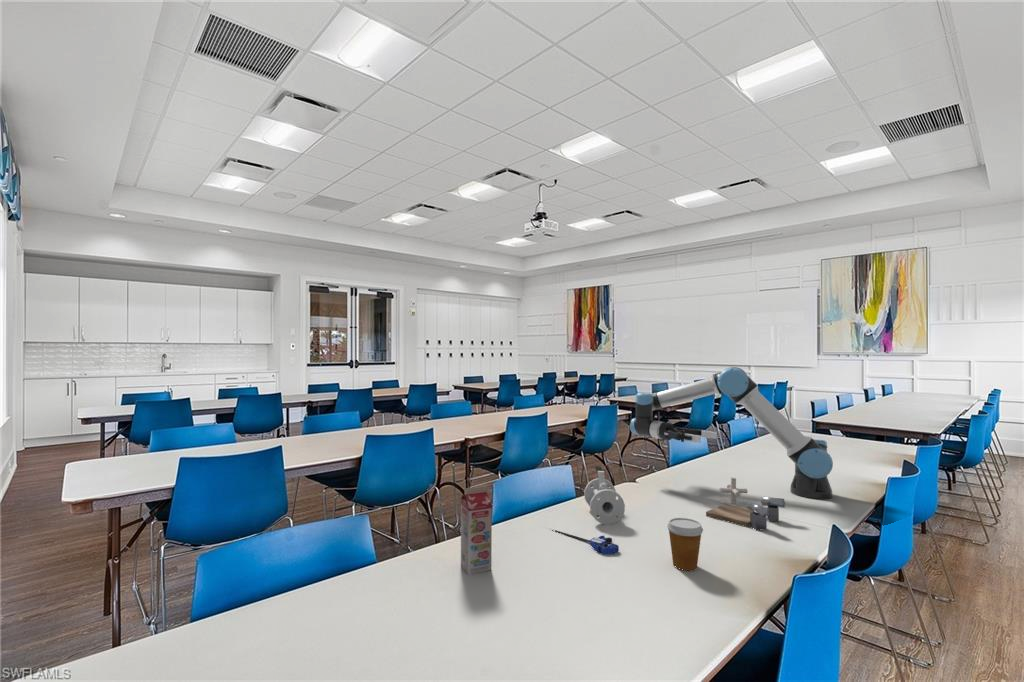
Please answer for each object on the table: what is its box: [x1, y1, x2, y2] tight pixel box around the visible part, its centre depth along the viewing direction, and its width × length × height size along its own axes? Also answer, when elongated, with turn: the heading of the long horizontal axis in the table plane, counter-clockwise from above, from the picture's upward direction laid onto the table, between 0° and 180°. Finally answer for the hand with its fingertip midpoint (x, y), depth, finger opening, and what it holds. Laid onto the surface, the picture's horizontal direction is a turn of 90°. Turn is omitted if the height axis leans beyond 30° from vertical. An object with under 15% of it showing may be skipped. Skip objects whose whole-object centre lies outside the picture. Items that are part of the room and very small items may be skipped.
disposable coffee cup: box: [666, 517, 704, 571], centre depth 138 cm, size 10×10×12 cm
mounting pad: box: [705, 503, 753, 527], centre depth 180 cm, size 15×15×2 cm
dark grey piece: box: [747, 501, 769, 531], centre depth 168 cm, size 7×4×8 cm, turn 11°
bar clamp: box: [552, 529, 620, 555], centre depth 159 cm, size 32×2×10 cm
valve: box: [584, 465, 626, 526], centre depth 182 cm, size 22×12×15 cm, turn 179°
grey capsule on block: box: [761, 496, 786, 524], centre depth 176 cm, size 7×4×8 cm, turn 71°
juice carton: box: [460, 485, 493, 575], centre depth 137 cm, size 7×7×22 cm
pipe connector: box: [719, 476, 748, 505], centre depth 196 cm, size 10×10×10 cm
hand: (708, 437), depth 204 cm, fingers open, 13 cm apart
